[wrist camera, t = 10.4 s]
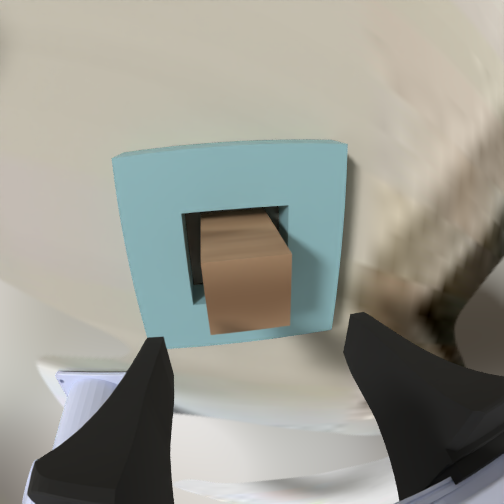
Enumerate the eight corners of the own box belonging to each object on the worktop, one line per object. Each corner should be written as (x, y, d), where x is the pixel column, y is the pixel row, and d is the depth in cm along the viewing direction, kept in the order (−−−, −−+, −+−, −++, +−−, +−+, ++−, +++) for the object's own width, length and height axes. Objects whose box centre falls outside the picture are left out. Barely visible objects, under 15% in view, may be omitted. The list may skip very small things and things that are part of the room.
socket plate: (320, 310, 24) (331, 329, 22) (154, 328, 23) (150, 349, 21) (331, 139, 19) (347, 144, 17) (122, 152, 17) (111, 158, 15)
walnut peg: (264, 263, 22) (290, 325, 16) (206, 269, 21) (210, 335, 15) (263, 208, 20) (291, 253, 14) (200, 213, 20) (200, 263, 13)
